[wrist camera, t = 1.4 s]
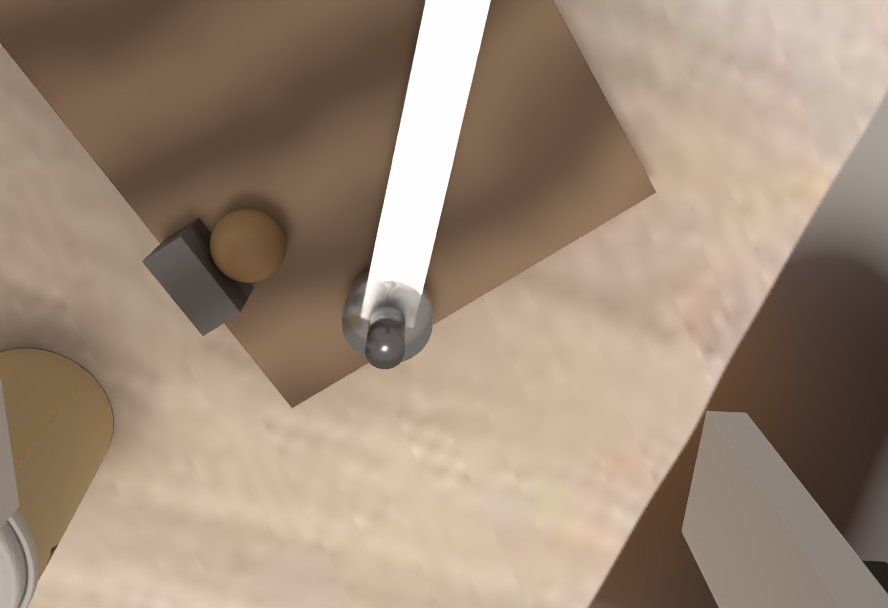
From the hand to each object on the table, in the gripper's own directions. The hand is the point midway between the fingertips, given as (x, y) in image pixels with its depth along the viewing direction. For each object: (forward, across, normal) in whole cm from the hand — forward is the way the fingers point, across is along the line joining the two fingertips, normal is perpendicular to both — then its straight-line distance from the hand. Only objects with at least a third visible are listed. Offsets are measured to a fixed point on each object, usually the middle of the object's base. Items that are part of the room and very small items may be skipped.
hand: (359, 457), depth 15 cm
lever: (+21, +1, +3) cm, 22 cm away
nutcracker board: (+24, -4, +5) cm, 24 cm away
